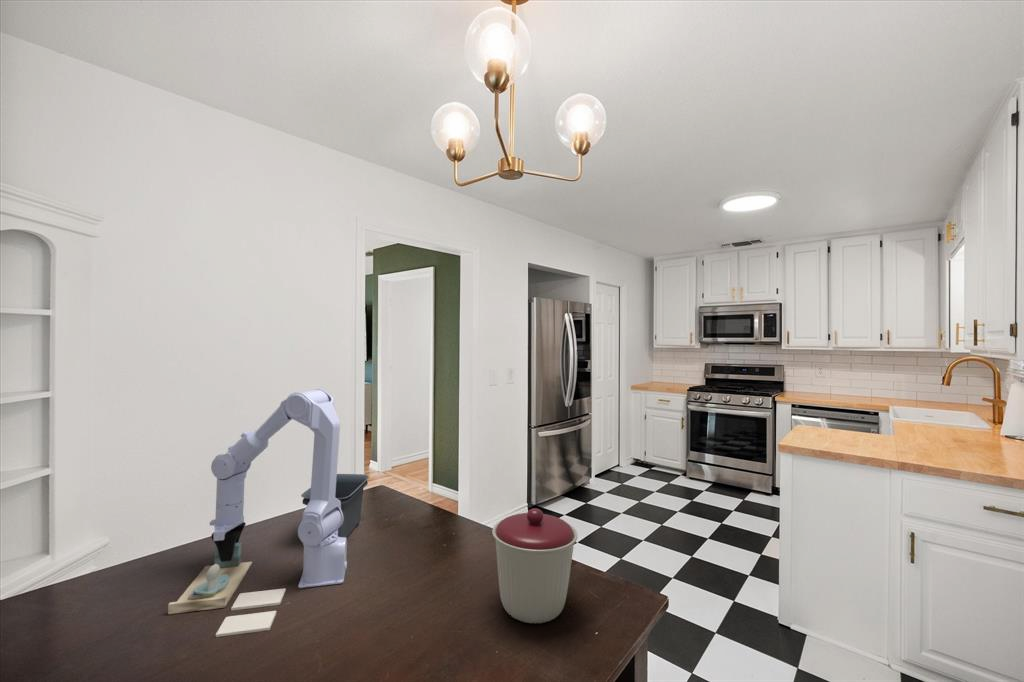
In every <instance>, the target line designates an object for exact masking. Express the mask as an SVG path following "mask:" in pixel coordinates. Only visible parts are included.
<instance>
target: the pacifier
mask: <svg viewBox="0 0 1024 682" xmlns="http://www.w3.org/2000/svg"><path fill="white" fill-rule="evenodd" d="M219 571H220V567H219V565H218V564H215V563H214V564H213V566H212V567H211V568H210V569H209V570H208V572H207V574H206V580H208V581H207V582H206V583H204V584H202V585H201V586H199V587H197V588H196V589H194V590H193V591H192V592H191V593H190V594H189V598H190V599H198V598H207V597H211V596H213V595H215V594H216V593H218V591H219V590H220V589H222V588H224V587H225V586H226V585H227V584H228V582H229V575H227V574H223V575H219V576H217V575H218V574H219ZM223 582H225V583H224V584H222V583H223ZM195 594H200V595H195Z"/></svg>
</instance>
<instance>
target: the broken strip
mask: <svg viewBox="0 0 1024 682" xmlns="http://www.w3.org/2000/svg"><path fill="white" fill-rule="evenodd" d="M285 593H286V588H278V589H277V588H275V589H268V590H267V589H266V590H261V591H259V590H258V591H251V592H250V591H249V592H242V593H241V592H240V593H239V595H238V596H237V598H236V599H235V601H234V603H233V605H232V606H231V608H230V609H231V610H230V611H232V612H233V611H239V610H246V609H247V610H248V609H256V608H263V607H264V608H265V607H272V606H279V605H281V603H282V601H283V598H284V595H285ZM276 615H277V610H270V611H264V612H254V613H248V614H238V615H229V616H225V618H224V620H223V621H222V623H221V625H220V627H219V628H218V630H217V631H216V633H215V638H220V637H221V638H222V637H227V636H235V635H243V634H249V633H257V632H264V631H270V630H271V628H272V627H271V626H272V625H273V623H274V620H275V618H276Z"/></svg>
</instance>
